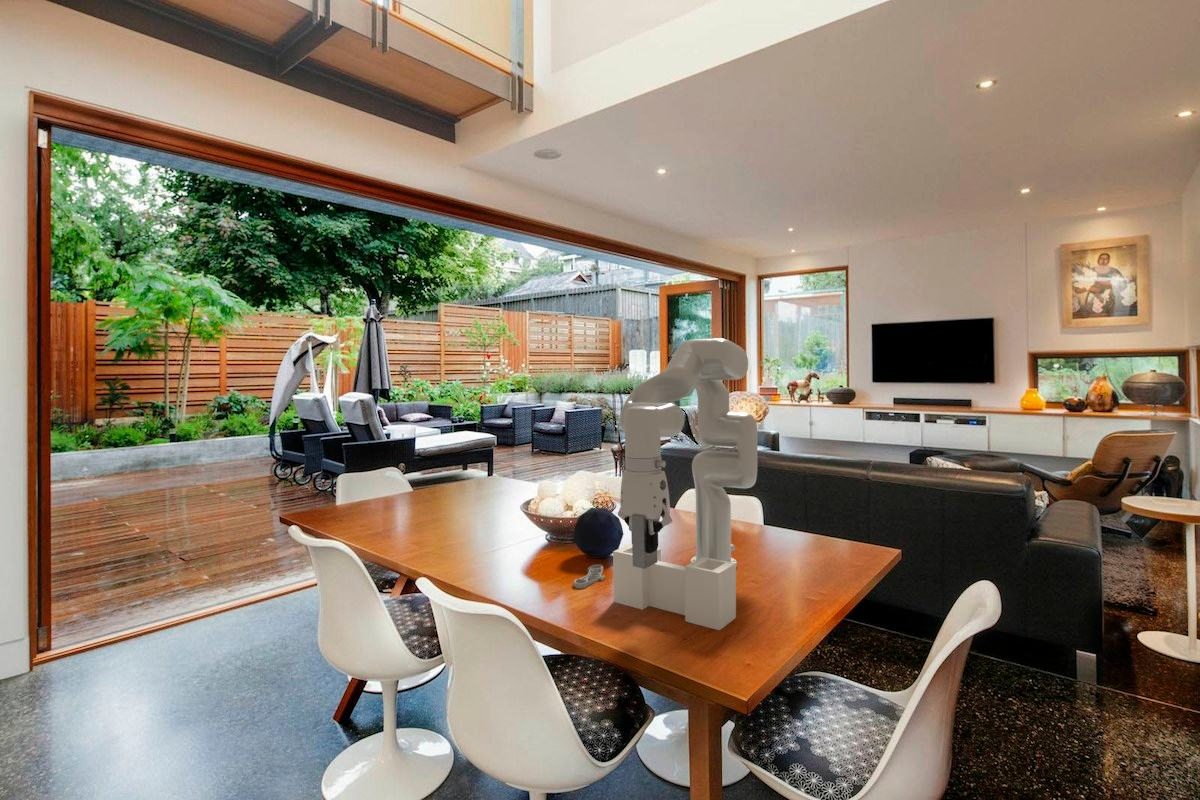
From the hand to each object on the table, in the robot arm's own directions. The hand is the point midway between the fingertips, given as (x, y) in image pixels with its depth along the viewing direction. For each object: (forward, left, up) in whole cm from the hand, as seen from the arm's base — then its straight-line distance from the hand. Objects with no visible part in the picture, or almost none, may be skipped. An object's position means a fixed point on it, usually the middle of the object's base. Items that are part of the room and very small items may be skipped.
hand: (644, 549), depth 128 cm
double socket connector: (-9, +1, -16) cm, 19 cm away
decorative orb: (-31, -37, -16) cm, 51 cm away
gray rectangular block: (0, 0, -3) cm, 3 cm away
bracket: (-15, -27, -17) cm, 35 cm away
